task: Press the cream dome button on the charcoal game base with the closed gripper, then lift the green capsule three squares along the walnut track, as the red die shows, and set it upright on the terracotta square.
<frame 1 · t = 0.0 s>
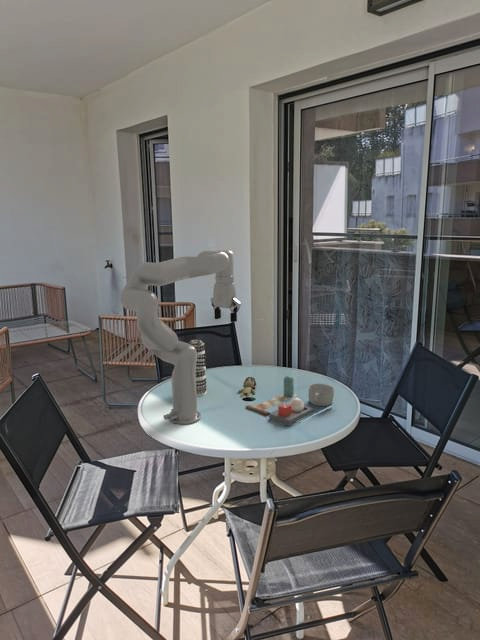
hand: (225, 320, 203), 37 cm above the table, tool pointing down, fingers open, 9 cm apart
teacup: (319, 406, 204), on the table
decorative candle: (197, 393, 221), on the table
green capsule: (288, 395, 214), point 1 cm above the table, touching track board
figurine: (248, 394, 220), on the table
track board: (275, 403, 208), on the table
game base: (291, 416, 193), on the table
dome: (296, 404, 195), point 4 cm above the table, slide at 0.0 cm
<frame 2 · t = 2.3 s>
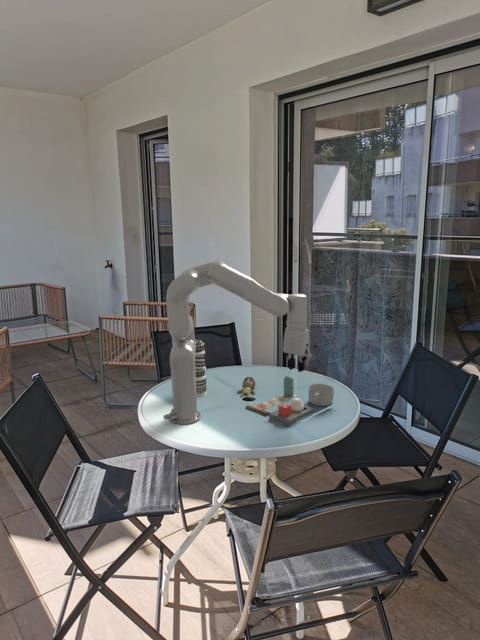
hand: (296, 369, 191), 19 cm above the table, tool pointing down, fingers open, 3 cm apart
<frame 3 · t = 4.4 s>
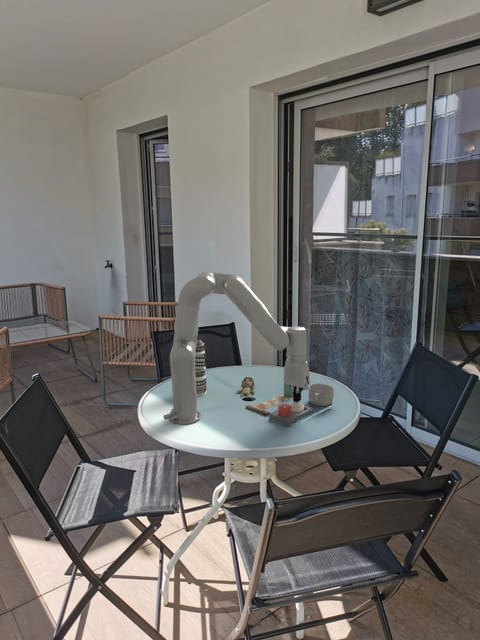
hand: (297, 400, 194), 6 cm above the table, tool pointing down, fingers closed
dome: (296, 407, 195), point 3 cm above the table, slide at 1.2 cm, touching gripper
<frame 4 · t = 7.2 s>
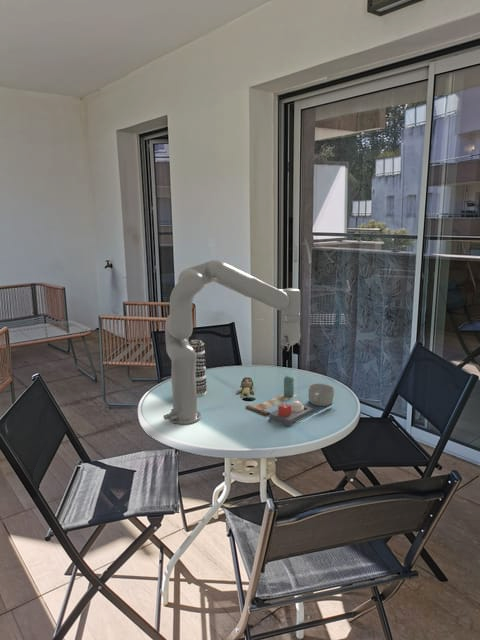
hand: (291, 356, 204), 21 cm above the table, tool pointing down, fingers open, 9 cm apart
dome: (296, 407, 195), point 3 cm above the table, slide at 1.3 cm
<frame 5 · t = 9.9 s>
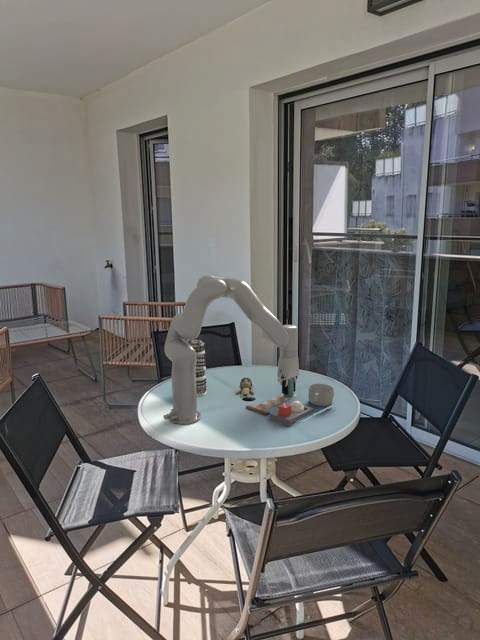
hand: (288, 392, 213), 3 cm above the table, tool pointing down, fingers closed on green capsule, 4 cm apart
green capsule: (288, 395, 214), point 1 cm above the table, touching gripper, track board
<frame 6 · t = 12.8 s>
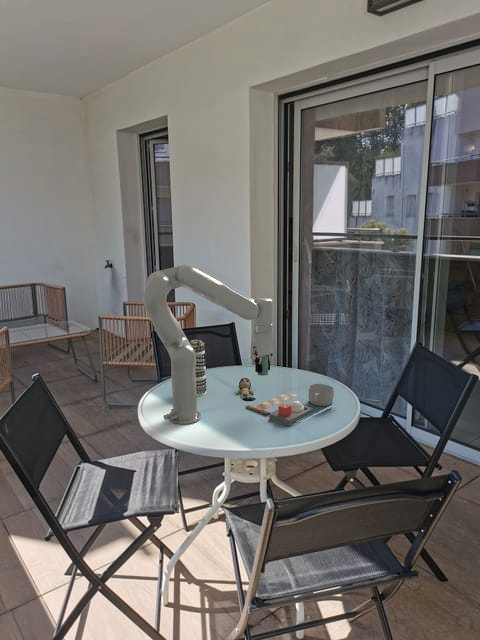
hand: (262, 370, 199), 17 cm above the table, tool pointing down, fingers closed on green capsule, 4 cm apart
green capsule: (262, 373, 199), point 15 cm above the table, touching gripper
when the fingers open (4 cm above the table, at t = 15.9 s): green capsule drops 1 cm, resting on track board.
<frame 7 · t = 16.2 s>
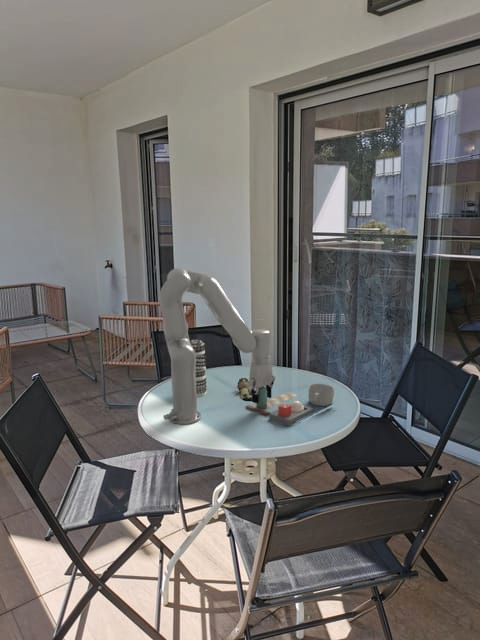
hand: (261, 399, 200), 4 cm above the table, tool pointing down, fingers open, 7 cm apart
green capsule: (261, 406, 201), point 1 cm above the table, touching track board
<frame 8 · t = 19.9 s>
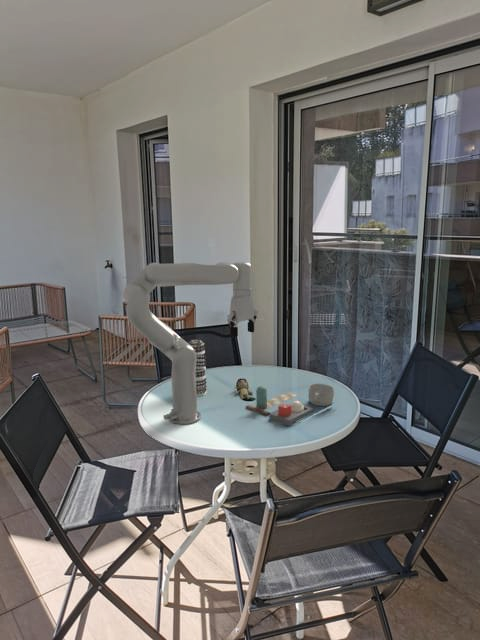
hand: (242, 333, 197), 32 cm above the table, tool pointing down, fingers open, 9 cm apart
at the end: green capsule 0.0 cm from the target spot, point 1.1 cm above the table; green capsule tilted 1°; dome slide at 1.3 cm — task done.
